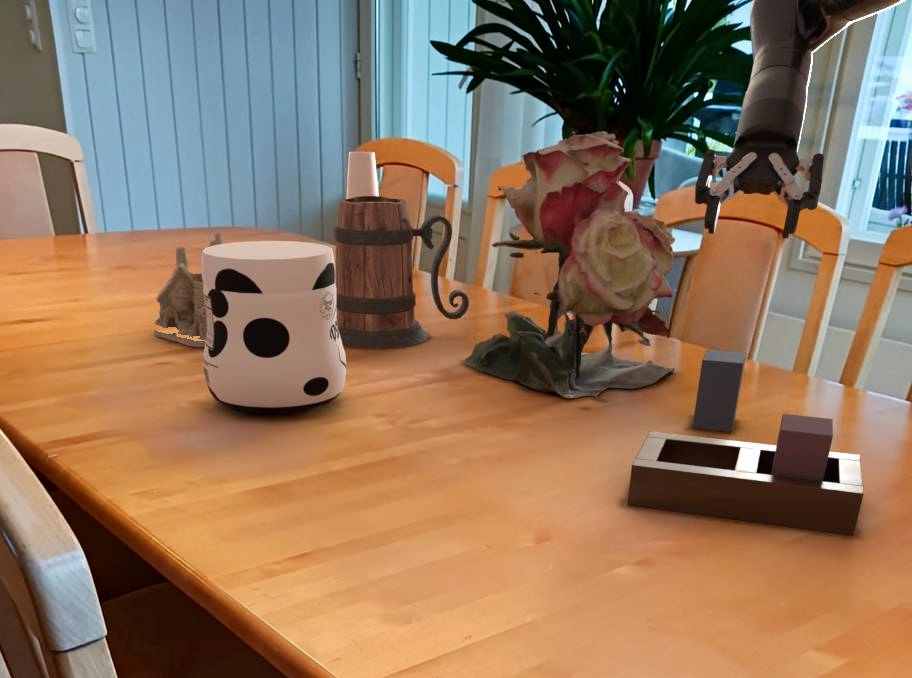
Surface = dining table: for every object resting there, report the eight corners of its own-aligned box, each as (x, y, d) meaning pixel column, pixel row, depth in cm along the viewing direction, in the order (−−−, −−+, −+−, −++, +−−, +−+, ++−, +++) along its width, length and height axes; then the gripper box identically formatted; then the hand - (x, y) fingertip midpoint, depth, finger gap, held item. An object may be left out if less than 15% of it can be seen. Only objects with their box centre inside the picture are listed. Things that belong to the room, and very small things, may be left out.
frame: (853, 535, 87) (863, 493, 85) (627, 504, 93) (631, 465, 91) (850, 493, 97) (860, 454, 95) (644, 467, 102) (649, 430, 100)
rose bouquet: (587, 410, 120) (612, 138, 105) (446, 361, 141) (450, 128, 126) (722, 380, 134) (761, 135, 119) (575, 340, 154) (593, 126, 139)
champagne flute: (342, 290, 189) (337, 152, 177) (355, 284, 194) (351, 150, 182) (374, 293, 187) (372, 153, 175) (386, 287, 192) (385, 152, 181)
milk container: (374, 398, 124) (372, 247, 115) (285, 432, 111) (274, 266, 102) (272, 377, 132) (262, 235, 123) (177, 407, 119) (159, 251, 110)
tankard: (327, 349, 146) (321, 205, 136) (317, 326, 161) (311, 193, 151) (478, 345, 150) (484, 204, 140) (455, 322, 165) (459, 193, 155)
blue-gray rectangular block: (697, 415, 119) (707, 349, 115) (735, 419, 118) (746, 352, 114) (692, 428, 115) (702, 359, 111) (731, 432, 113) (743, 363, 109)
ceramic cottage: (164, 322, 160) (155, 225, 152) (263, 328, 160) (259, 232, 152) (136, 351, 147) (124, 246, 139) (244, 357, 147) (238, 253, 139)
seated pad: (767, 492, 96) (782, 413, 92) (815, 498, 95) (832, 418, 91) (764, 512, 92) (780, 429, 88) (814, 518, 91) (833, 435, 87)
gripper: (712, 93, 117) (688, 206, 113) (838, 95, 113) (816, 212, 109) (710, 141, 124) (686, 248, 120) (828, 144, 120) (807, 256, 116)
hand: (748, 231), depth 115 cm, fingers open, 8 cm apart
